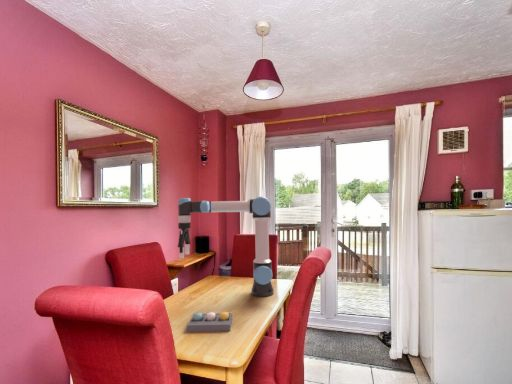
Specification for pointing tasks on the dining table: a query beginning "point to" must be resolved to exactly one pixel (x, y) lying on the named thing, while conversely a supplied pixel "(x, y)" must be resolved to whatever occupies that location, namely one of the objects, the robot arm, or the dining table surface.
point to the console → (209, 324)
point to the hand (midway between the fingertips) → (184, 256)
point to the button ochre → (224, 316)
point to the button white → (210, 316)
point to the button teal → (197, 316)
